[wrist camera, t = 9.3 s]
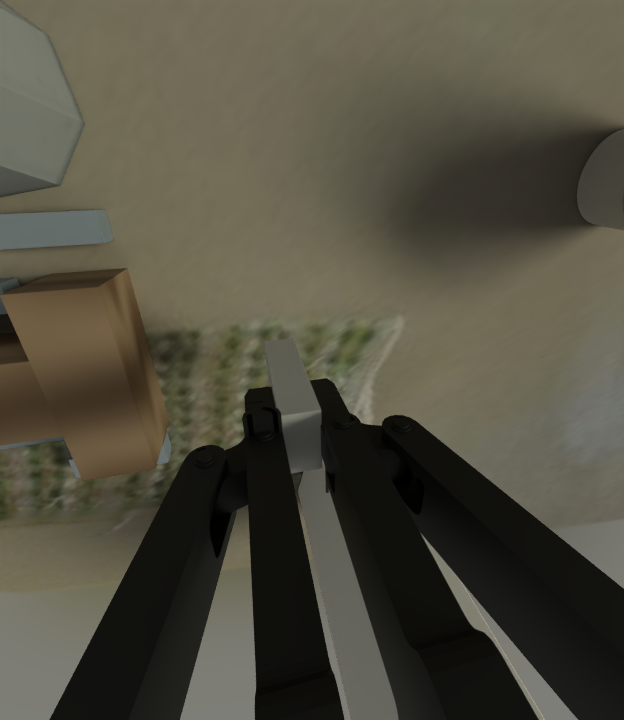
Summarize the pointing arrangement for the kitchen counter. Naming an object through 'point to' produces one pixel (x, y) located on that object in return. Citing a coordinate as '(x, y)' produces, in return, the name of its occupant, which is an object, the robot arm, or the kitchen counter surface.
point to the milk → (363, 608)
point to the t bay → (48, 233)
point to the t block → (82, 372)
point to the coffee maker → (33, 109)
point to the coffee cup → (604, 184)
